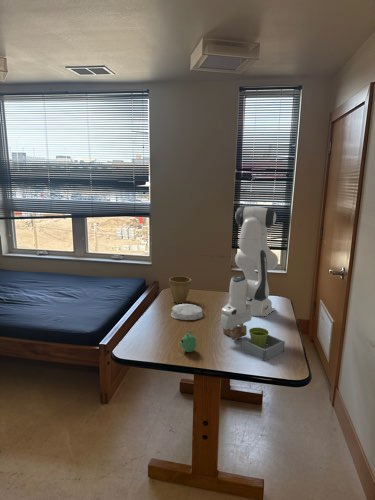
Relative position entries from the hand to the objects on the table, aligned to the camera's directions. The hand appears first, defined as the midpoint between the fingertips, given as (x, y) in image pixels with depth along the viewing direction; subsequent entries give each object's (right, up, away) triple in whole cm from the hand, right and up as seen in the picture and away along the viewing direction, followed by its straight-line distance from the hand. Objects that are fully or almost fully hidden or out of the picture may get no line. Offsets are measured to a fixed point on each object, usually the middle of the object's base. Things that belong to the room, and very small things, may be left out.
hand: (236, 332), depth 177 cm
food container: (-26, +3, +31) cm, 40 cm away
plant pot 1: (-30, +8, +54) cm, 62 cm away
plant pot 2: (+9, -5, -10) cm, 15 cm away
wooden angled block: (-1, -2, +2) cm, 3 cm away
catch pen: (+11, -6, -13) cm, 18 cm away
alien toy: (-25, -6, -15) cm, 30 cm away
